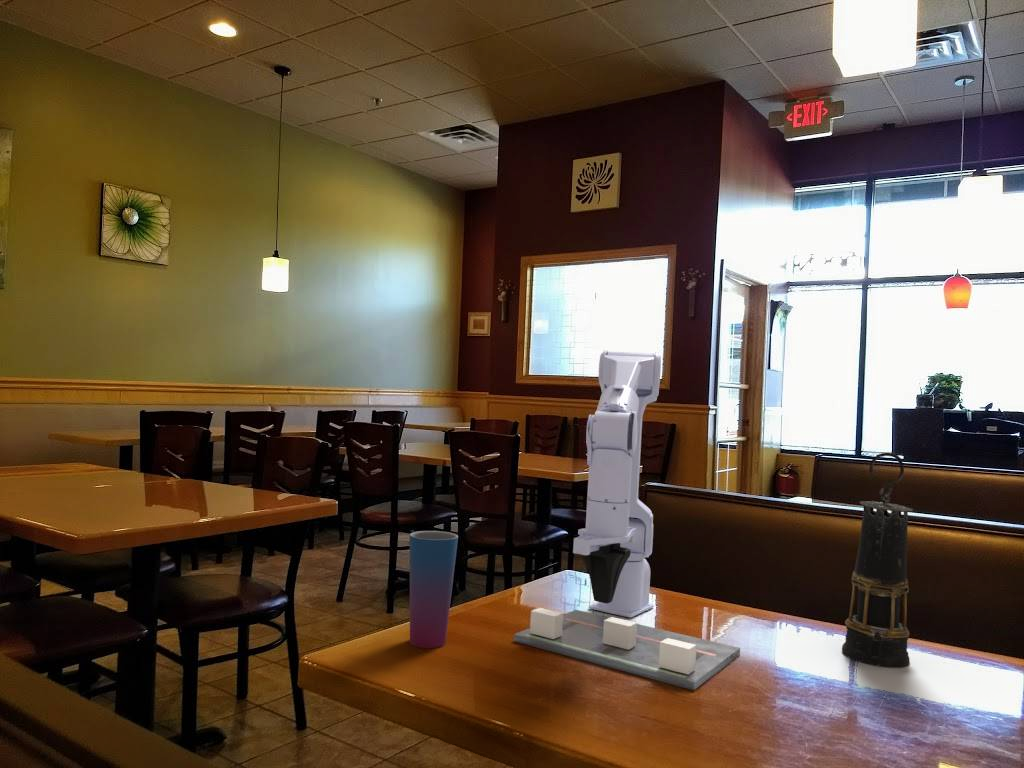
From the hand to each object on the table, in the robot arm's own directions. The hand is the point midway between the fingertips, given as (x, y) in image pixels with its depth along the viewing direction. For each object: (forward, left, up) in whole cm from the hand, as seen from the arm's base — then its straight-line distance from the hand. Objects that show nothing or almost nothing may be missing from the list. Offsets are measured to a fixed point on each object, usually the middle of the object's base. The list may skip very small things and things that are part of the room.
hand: (602, 601), depth 102 cm
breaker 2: (-2, +10, -7) cm, 12 cm away
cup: (+10, -22, -8) cm, 25 cm away
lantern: (-31, +29, -8) cm, 43 cm away
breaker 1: (-2, -10, -7) cm, 12 cm away
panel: (-8, 0, -8) cm, 12 cm away
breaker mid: (-6, 0, -7) cm, 9 cm away
